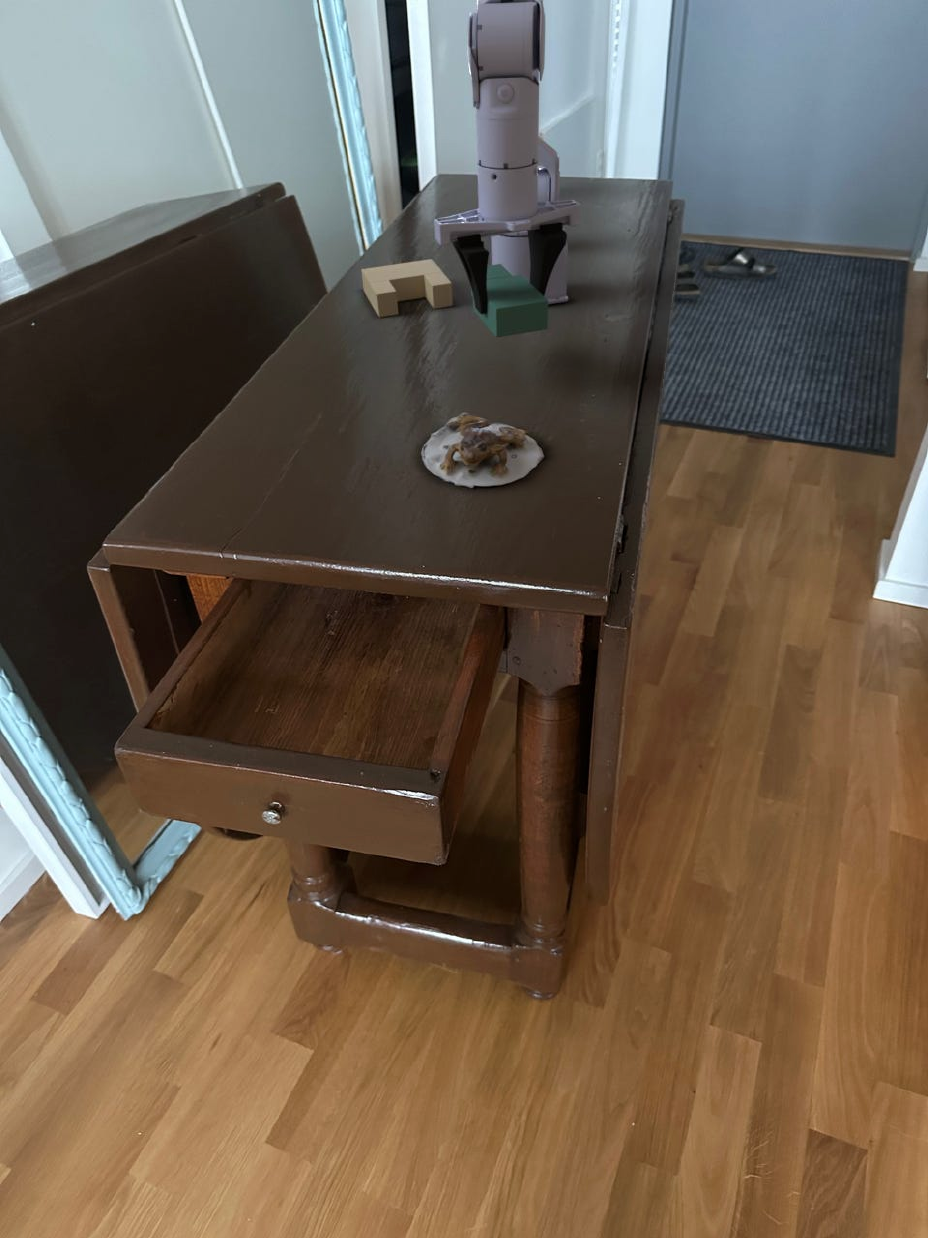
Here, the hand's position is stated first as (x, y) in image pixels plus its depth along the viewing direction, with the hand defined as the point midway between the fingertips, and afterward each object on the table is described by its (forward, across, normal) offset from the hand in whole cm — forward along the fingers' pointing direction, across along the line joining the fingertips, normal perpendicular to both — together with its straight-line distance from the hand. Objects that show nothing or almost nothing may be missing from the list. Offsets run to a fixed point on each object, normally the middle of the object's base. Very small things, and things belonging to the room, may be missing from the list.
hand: (508, 305), depth 86 cm
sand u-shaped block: (+8, -5, +28) cm, 30 cm away
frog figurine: (+8, -8, -15) cm, 19 cm away
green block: (+1, 0, +2) cm, 2 cm away
